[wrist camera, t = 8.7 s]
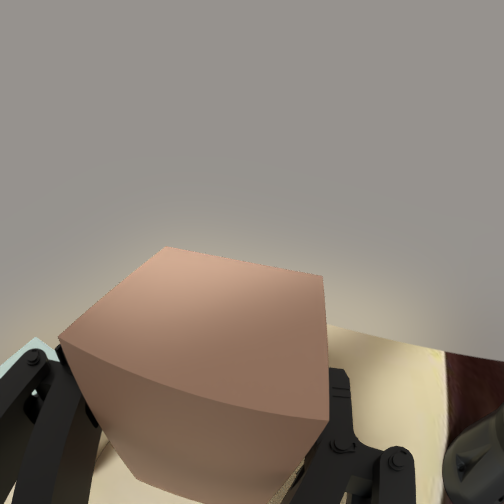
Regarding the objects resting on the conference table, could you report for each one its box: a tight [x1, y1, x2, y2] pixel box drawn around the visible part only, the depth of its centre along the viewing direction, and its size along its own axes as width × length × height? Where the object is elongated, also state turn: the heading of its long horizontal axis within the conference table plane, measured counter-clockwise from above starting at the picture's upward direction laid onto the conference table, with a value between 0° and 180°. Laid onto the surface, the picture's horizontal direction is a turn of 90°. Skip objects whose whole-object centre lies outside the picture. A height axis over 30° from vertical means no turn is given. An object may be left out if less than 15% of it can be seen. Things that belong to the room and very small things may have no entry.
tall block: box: [58, 246, 329, 504], centre depth 9 cm, size 6×6×10 cm
